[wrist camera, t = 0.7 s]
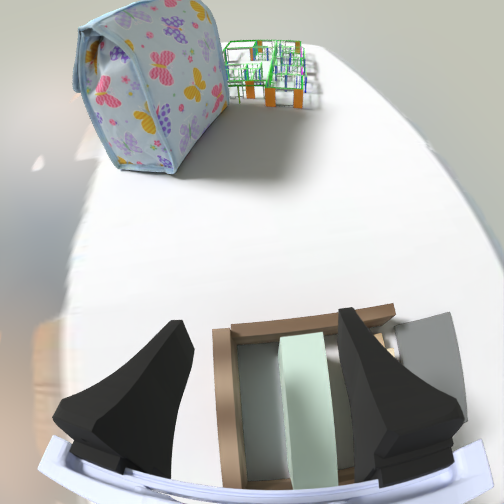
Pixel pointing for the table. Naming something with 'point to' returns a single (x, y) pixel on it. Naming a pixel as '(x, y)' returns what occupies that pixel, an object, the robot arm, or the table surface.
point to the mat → (433, 354)
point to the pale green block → (307, 412)
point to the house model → (269, 90)
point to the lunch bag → (151, 80)
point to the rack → (230, 386)
